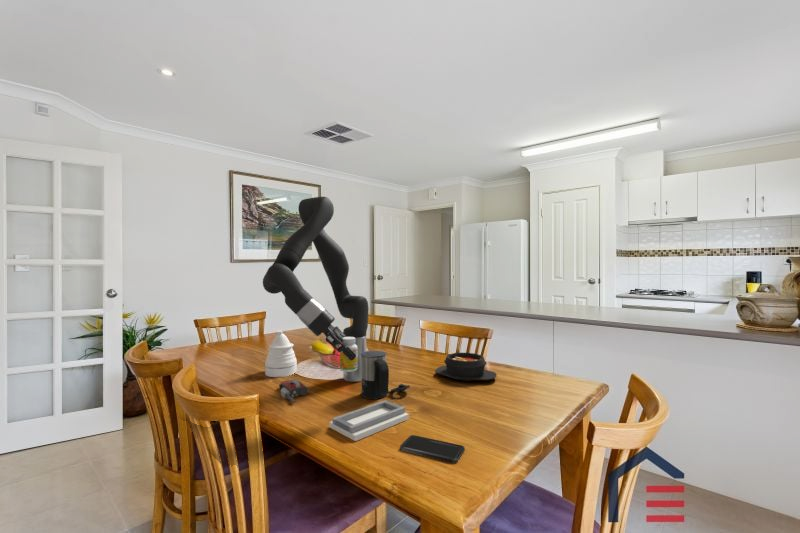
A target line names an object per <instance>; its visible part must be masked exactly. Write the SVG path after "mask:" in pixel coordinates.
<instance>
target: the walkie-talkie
mask: <svg viewBox="0 0 800 533" xmlns="http://www.w3.org/2000/svg"><path fill="white" fill-rule="evenodd" d="M278 387H279V388H280V396H281V397H282V399H287V400H289V401H290V402H291V403H293V404H295V403H296V400H295V399H294V396H296V397H300V396H299V395H301V396H304V395H305V394H306V395H308V394H307V393H308V392H309V391H308V386H307V385H305V384H304V383H302V382H301V381H300V380H298V379H296V378H292V379H287V380H283V381H281V382H280V384H279V385H278Z"/></svg>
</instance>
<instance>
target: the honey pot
mask: <svg viewBox="0 0 800 533" xmlns="http://www.w3.org/2000/svg"><path fill="white" fill-rule="evenodd" d="M275 334H276V336H275V337H274V339H273V341H272V343H271V344H269V346H268V348H269V351H268V353H267V356H266V359H265V361H264V362H265V363H264V365H265V366H264V368H265V369H264V372H265V373H264V374H265V376H267V377H270V378H281V377H283V378H285V377H288V376H289V375H290V376H292V374H293V375H295V374H296V373H297V372H298V362H297V360H298V359H297V357H296V354H295V351H294V349H293V347H294V343H292V342H291V341H290V340H289V339H288V337H287V336H286V335H285V334H284V332H283V330H276V332H275ZM296 371H297V372H296ZM295 372H296V373H295ZM294 373H295V374H294Z"/></svg>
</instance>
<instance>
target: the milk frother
mask: <svg viewBox="0 0 800 533" xmlns="http://www.w3.org/2000/svg"><path fill="white" fill-rule="evenodd" d="M386 356H387V351H383V350H368V351H367V350H366V352H362V353H361V366H362V381H361V393H360V396H361V398H364V399H369V400H377V399H382V398H385V397H387V395H388V394H391V393H392V394H393V393H396V392H397V393H398V392H400V393H402V392H405V391H406V390H407V389H409V388H410V387H411V385H410V384H408V385H406V384H403V383H401V384H398V386H397V387H394V388H392V389H390V391H389V382H390V380H389V377H390V375H389V374H390V370H389V369H390V368H389V365H388V363H387V359H386V358H387V357H386Z"/></svg>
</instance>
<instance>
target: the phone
mask: <svg viewBox="0 0 800 533" xmlns="http://www.w3.org/2000/svg"><path fill="white" fill-rule="evenodd" d="M399 446H400V447H399V450H400V451H401V450H402V451H401V452H404V451H406V452H405V453H408V452H409V454H412V453H413V454H414V455H418V456H421V457H424V458H429V457H430V458H429V459H433V458H434V459H433V460H437V459H438V461H441V462H445V463H449V462H450V464H456V463H458V462H459V461H458V460H460V459H461V458H462V456H463V455H464V453H465V452H464V451H466V447H465V446H464V445H461V444H457V443H454V442H453V443H452V442H448V441H443V440H438V439H433V438H430V437H426V436H420V435H416V434H411V435H409V436H408V437H407V438H406V439H405V440H404V441H403V442H402V443H401V444H400V445H399ZM462 454H463V455H462ZM460 457H461V458H460Z"/></svg>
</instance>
